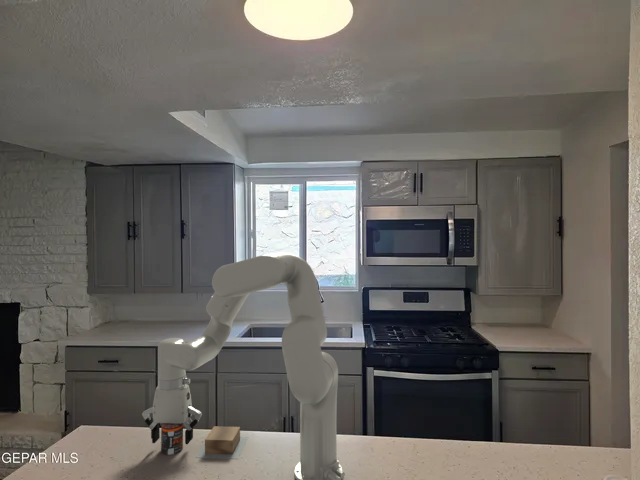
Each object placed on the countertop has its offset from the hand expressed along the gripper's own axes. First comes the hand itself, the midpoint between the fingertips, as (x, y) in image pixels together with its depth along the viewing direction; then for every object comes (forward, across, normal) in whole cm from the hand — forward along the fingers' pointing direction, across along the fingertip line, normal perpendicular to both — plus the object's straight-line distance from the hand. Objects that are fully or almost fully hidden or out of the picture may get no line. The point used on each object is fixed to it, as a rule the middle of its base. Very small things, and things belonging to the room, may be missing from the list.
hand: (172, 441), depth 114 cm
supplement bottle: (+4, 0, 0) cm, 4 cm away
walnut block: (+2, -14, -2) cm, 15 cm away
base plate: (+3, -14, -2) cm, 15 cm away
